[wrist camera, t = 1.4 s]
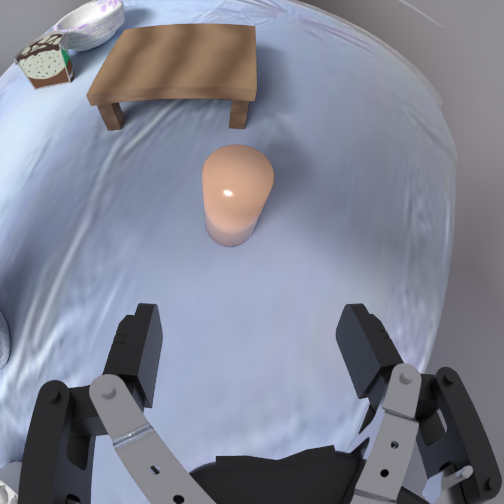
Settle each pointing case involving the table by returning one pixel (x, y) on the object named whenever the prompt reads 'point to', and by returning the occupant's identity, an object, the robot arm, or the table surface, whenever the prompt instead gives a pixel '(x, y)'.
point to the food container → (46, 60)
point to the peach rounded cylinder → (235, 192)
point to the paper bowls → (92, 24)
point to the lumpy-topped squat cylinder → (10, 482)
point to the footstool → (178, 68)
